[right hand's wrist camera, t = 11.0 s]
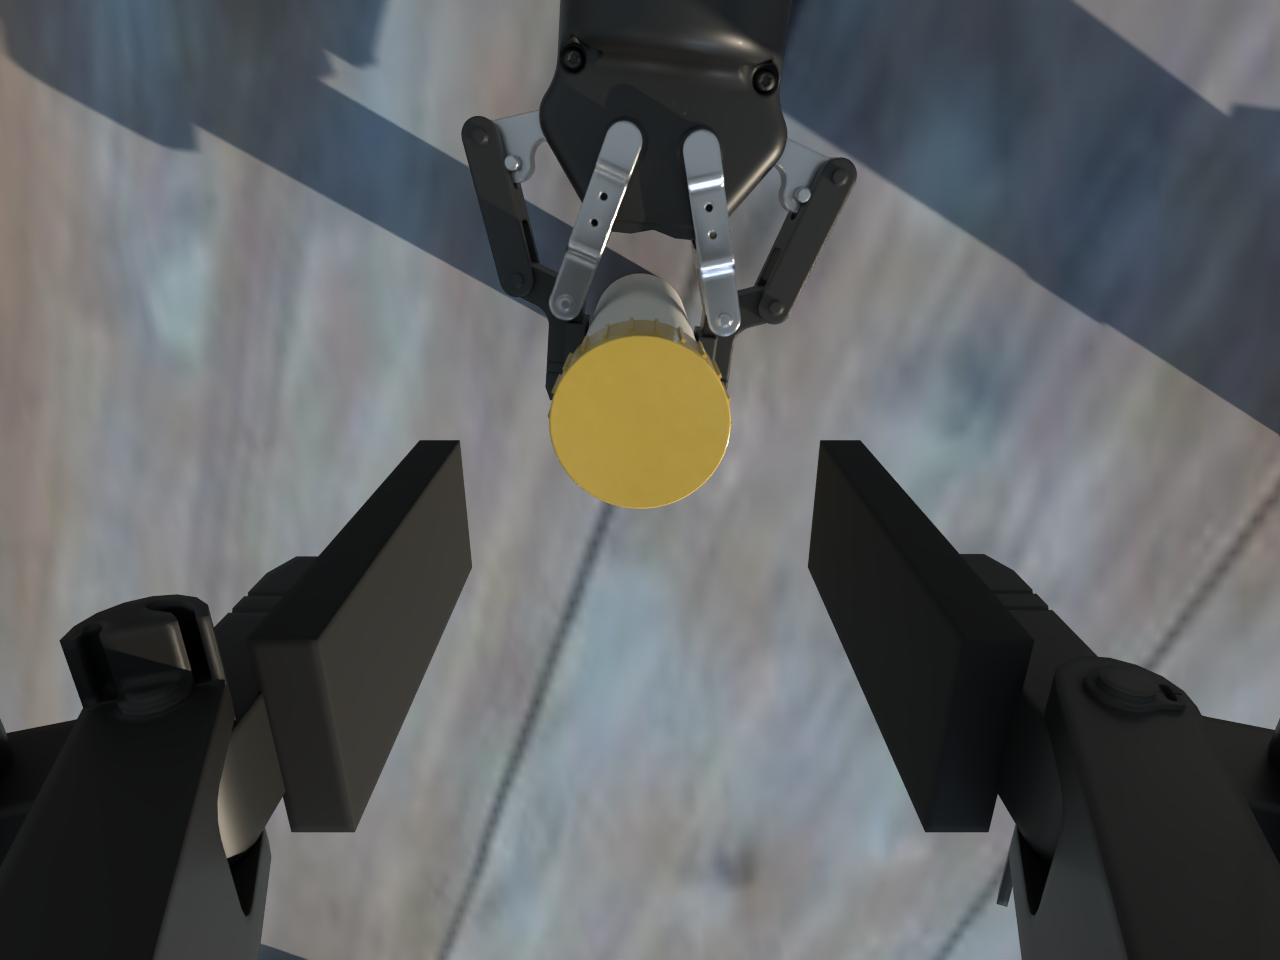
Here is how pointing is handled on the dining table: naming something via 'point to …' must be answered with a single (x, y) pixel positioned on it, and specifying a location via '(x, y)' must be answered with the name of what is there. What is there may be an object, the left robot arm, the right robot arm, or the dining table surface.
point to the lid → (639, 414)
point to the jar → (640, 303)
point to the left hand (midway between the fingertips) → (633, 415)
